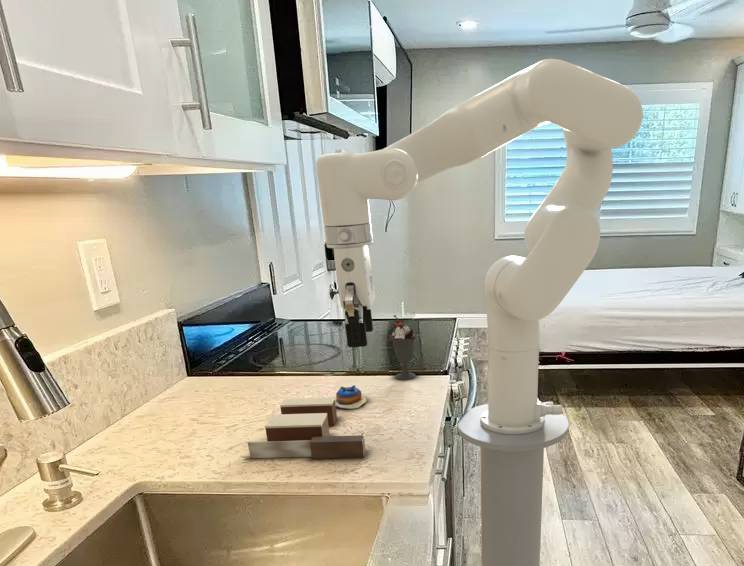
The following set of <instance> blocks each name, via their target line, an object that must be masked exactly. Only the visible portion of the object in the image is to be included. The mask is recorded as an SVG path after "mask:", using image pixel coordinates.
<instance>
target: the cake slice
mask: <svg viewBox="0 0 744 566" xmlns="http://www.w3.org/2000/svg"><path fill="white" fill-rule="evenodd" d="M335 398H336V396H335V397H334V396H333V397H332V396H331V397H306V398H305V397H303V398H284V399H283V400H282V402H281V404H280V405H279V406H280V413H281V414H311V413H327V417H328V425H329V426H335V425H336V422H337V420H338V413H337V406H336V404H335Z"/></svg>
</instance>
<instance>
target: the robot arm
mask: <svg viewBox="0 0 744 566" xmlns="http://www.w3.org/2000/svg"><path fill="white" fill-rule="evenodd" d="M641 102H642V101H641V100H640V98H639V96H638V95H637V93H635V92H634V91H633V90H632V89H631V88H630V87H628V86H626V85H624V84H622V83H621V82H620V83H619V82H617V81H615V80H612V79H610V78H607V77H605V76H603V75H600V74H598V73H595V72H593V71H592V70H588V69H587V68H584V67H581V66H579V65H577V64H573V63H571V62H570V61H569V62H568V61H566V60H562V59H559V58H546V59H542V60H540V61H538V62H536V63H535V64H532V65H530V66H528V67H527V68H524V69H522V70H520V71H518V72H516V73H515V74H513V75H511V76H509V77H507V78H506V79H504V80H502V81H500V82H498V83H496V84H494V85H493V86H491V87H489V88H487V89H485V90H483V91H481V92H480V93H478V94H476V95H473V96H472V97H470V98H468V99H466V100H464V101H463V102H462V101H461V102H460V103H458V104H456V105H454V106H453V107H452V108H450V109H448V110H447V111H445V112H444V113H442V114H441V115H440V116H438V117H437V118H435V119H434V120H433V121H431V122H429V123H428V124H426V125H424V126H423V127H421V128H419V129H418V130H416V131H414V132H412V133H410V134H408V135H406V136H405V137H403V138H401V139H399V140H397V141H395V142H393V143H391V144H390V145H388V146H386V147H384V148H382V149H378V150H373V151H369V152H368V151H367V152H362V153H361V152H360V153H357V152H354V151H353V152H351V151H345V152H342V151H341V152H329V153H324V154H321V155H319V156H318V157H317V158H316V161H315V168H316V177H317V185H318V191H319V198H320V205H321V214H322V222H323V229H324V237H325V244H326V248H327V249H333V257H334V265H335V274H336V283H337V284H336V285H337V291H338V298H339V303H340V306H341V309H343V310H344V326H345V336H346V343H347V347H348V348H363V347H364V348H365V347H367V346H368V336H367V333H372V332H373V331H374V323H373V316H372V315H373V314H372V309H371V307H372V306H373V304H374V303H375V301H376V291H375V283H374V276H373V271H372V270H373V269H372V262H371V255H370V249H369V246H371V245H373V244H374V240H373V238H374V237H373V230H372V229H373V228H372V223H371V222H372V221H371V219H372V218H371V211H370V202H369V200H385V201H398V200H402V199H404V198H406V197H408V196H409V195H410V194H411V193H412V192H413V191H414V189H415V187H416V185H418V184H420V183H422V182H424V181H426V180H427V179H429V178H432V177H434V176H436V175H438V174H440V173H442V172H444V171H447V170H450V169H453V168H456V167H461V166H464V165H467V164H470V163H473V162H474V161H477V160H479V159H482V158H484V157H486V156H487V155H489V154H490V153H492V152H494V151H496V150H498V149H500V148H502V147H503V146H506V145H507V144H509V143H511V142H512V141H515V140H517V139H518V138H520V137H522V136H524V135H526V134H528V133H529V132H531V131H533V130H535V129H536V128H539V127H541V126H543V125H548V124H552V125H554V126H557V127H559V128H561V129H562V132H563V138H564V142H565V147H566V161H565V165H564V168H563V170H562V172H561V174H560V175H559V177H558V179H557V180H556V182H555V183H554V185H553V187H552V188H551V189H550V191H549V192H548V193H547V195H546V196H545V197H544V199H543V200H542V202H541V204H540V205H539V206H538V207H537V209H536V210H535V212H534V213H533V214H532V215H531V217H530V218H529V220H528V222H527V224H526V225H525V229H524V231H523V232H524V234H523V241H524V244H525V246H526V248H527V250H528V251H529V253H528V254H527V255H526V257H522V256H518V255H508V256H504V257H501V258H499V259H497V260H496V261H495V262H493V264H492V265H491V266H490V267H489V269H488V270H487V273H486V275H485V278H484V286H483V292H484V293H483V294H484V303H485V311H486V321H487V404H488V410H486V411H484V412H483V413H482V414H481V416H480V423H481V425H482V426H483V427H484V428H486V429H488V430H490V431H493V432H496V433H501V434H526V433H530V432H534V431H537V430H539V429H540V428H542V427H543V426H544V424H545V415H549V414H552V415H561V414H563V406H562V404H554V402H553V401H546V402H545V401H541V400H540V399H539V397H538V395H539V365H540V364H539V360H540V320H543V319H544V318H546V317H547V316H549V315H551V314H552V313H553V312H554V311H555V310H556V309H557V307H559V305H560V304H561V303H562V302H563V300H564V299H565V298H566V296H567V295H568V293H569V292H570V291H571V289H572V288H573V287H574V285H575V284H576V283H577V281H578V280H579V279H580V277H581V275H583V274H584V271H586V269H587V268H588V266H589V265H590V263H591V262H592V260H593V258H594V257H595V255H596V254H597V251H598V249H599V245H600V242H601V227H600V223H599V220H598V218H597V217H596V215H595V213H596V211H597V210H598V208H599V207H600V205H601V203H602V202H603V201H604V199H605V197H606V196H607V193H608V192H609V189H610V186H611V184H612V179H613V169H614V167H613V165H614V163H613V161H614V160H613V149H615V148H620V147H622V146H624V145H627V144H628V143H629V142H631V140H633V139H634V138H635V136H636V135H637V134H638V132H639V131H640V128H641V126H642V122H643V116H644V111H643V106H642V103H641Z"/></svg>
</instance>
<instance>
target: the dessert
mask: <svg viewBox="0 0 744 566" xmlns="http://www.w3.org/2000/svg"><path fill="white" fill-rule="evenodd" d="M366 403H367V397H366V396H364V395H363V394H362V391H361V390H360V389H359V388H358V387H356V385H352V386H347V387H344V386H340V387H339V389H338V390H337V392H336V394H335V404H336V407H337V408H340V409H351V410H352V409H358V408H360V407H361V406H362V405H364V404H366Z"/></svg>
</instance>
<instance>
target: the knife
mask: <svg viewBox="0 0 744 566" xmlns="http://www.w3.org/2000/svg"><path fill="white" fill-rule="evenodd" d="M365 441H366V440H365V435H363V434H361V435H360V434H358V435H330V436H322V437H312V439H311V440H303V441H269V442H268V441H248V442H247V447H248V452H249V453H248V454H249V458H250V459H268V458H269V459H272V458H273V459H275V458H276V459H277V458H303V457H304V458H305V457H306V458H307V457H309V458H310V457H311V459H312V460H326V459H327V460H328V459H330V460H331V459H359V458H360V459H361V458H363V459H364V458H365V454H366V442H365Z"/></svg>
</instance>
